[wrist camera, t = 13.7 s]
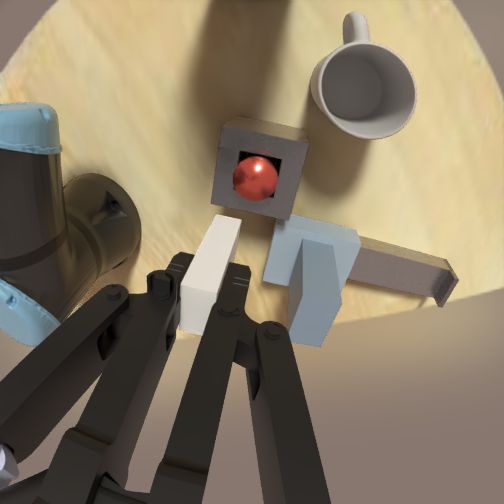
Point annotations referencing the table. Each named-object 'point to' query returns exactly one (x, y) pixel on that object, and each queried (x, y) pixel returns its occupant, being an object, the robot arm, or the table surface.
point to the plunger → (256, 177)
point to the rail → (402, 270)
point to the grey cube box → (264, 143)
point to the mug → (364, 85)
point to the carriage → (311, 273)
